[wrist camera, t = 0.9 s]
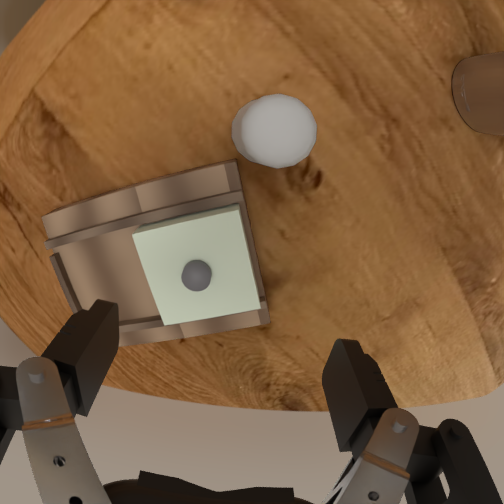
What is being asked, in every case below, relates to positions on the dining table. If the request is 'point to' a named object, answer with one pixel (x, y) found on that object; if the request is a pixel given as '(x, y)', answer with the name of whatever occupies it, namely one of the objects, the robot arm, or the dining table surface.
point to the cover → (198, 265)
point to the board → (126, 256)
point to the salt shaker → (274, 131)
